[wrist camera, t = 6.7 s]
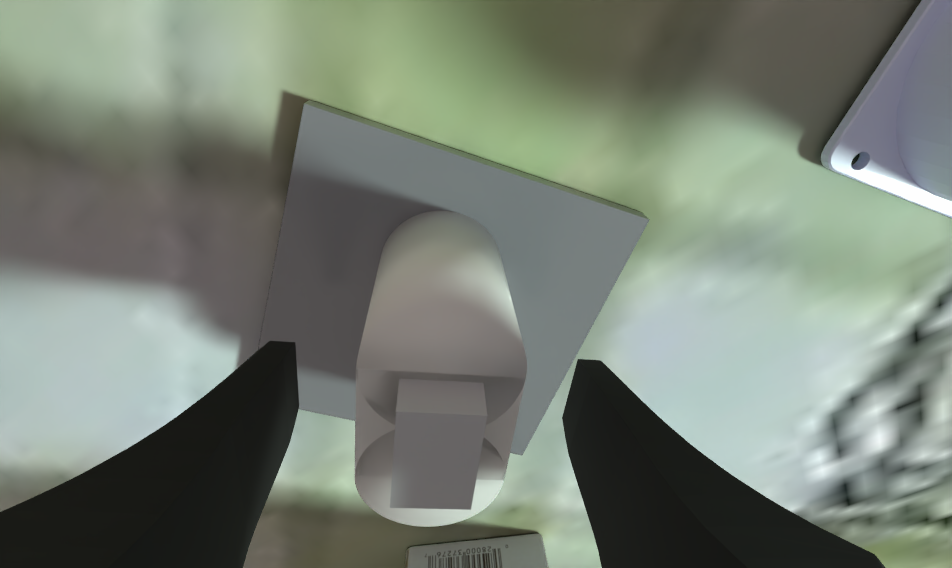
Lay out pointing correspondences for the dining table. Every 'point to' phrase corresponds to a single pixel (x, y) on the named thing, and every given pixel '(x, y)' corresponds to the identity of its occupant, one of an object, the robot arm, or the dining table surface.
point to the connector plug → (437, 374)
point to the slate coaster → (406, 195)
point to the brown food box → (481, 553)
